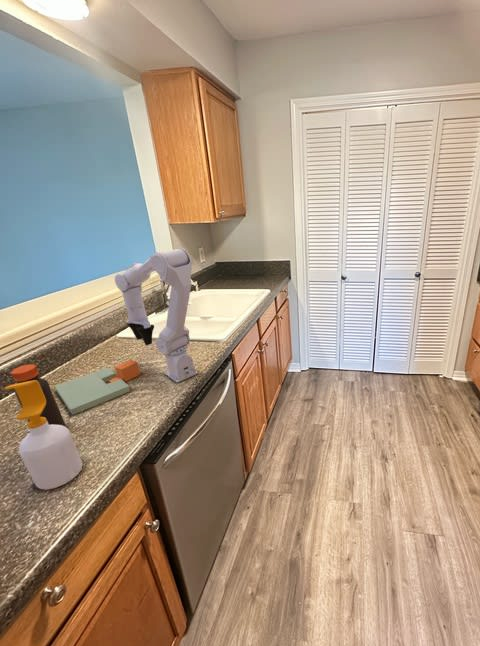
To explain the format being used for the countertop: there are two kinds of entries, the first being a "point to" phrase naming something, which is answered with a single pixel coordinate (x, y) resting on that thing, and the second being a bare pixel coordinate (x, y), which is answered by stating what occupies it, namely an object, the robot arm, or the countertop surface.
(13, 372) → the vinegar
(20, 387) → the soap bottle
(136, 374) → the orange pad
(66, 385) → the grey tile
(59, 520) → the countertop surface
